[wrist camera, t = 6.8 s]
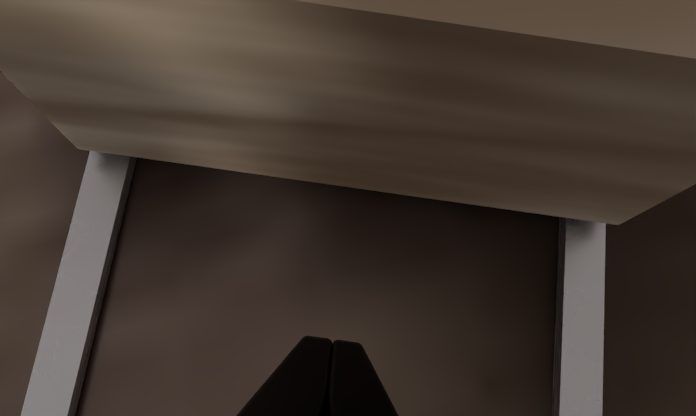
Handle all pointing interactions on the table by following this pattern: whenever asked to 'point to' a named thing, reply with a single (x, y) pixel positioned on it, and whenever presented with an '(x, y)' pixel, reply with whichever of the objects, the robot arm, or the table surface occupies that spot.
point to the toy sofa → (381, 93)
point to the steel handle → (98, 250)
